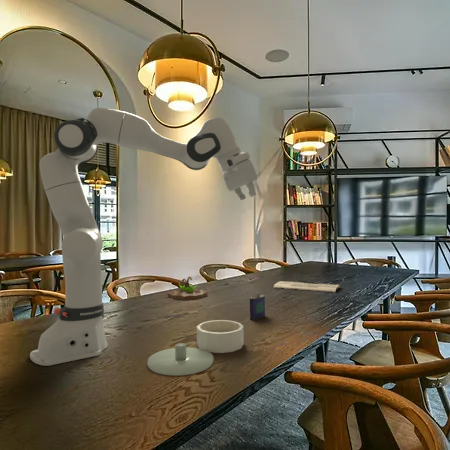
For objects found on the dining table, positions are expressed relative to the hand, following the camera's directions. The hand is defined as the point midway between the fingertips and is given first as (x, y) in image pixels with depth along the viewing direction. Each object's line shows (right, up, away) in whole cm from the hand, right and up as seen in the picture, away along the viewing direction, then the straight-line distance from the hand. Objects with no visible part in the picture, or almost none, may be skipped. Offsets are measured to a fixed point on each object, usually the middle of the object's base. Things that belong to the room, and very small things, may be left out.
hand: (248, 197), depth 125 cm
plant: (-29, -50, +71) cm, 91 cm away
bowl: (-10, -49, -8) cm, 51 cm away
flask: (+6, -49, +25) cm, 55 cm away
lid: (-21, -50, -22) cm, 59 cm away
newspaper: (+42, -49, +92) cm, 112 cm away
